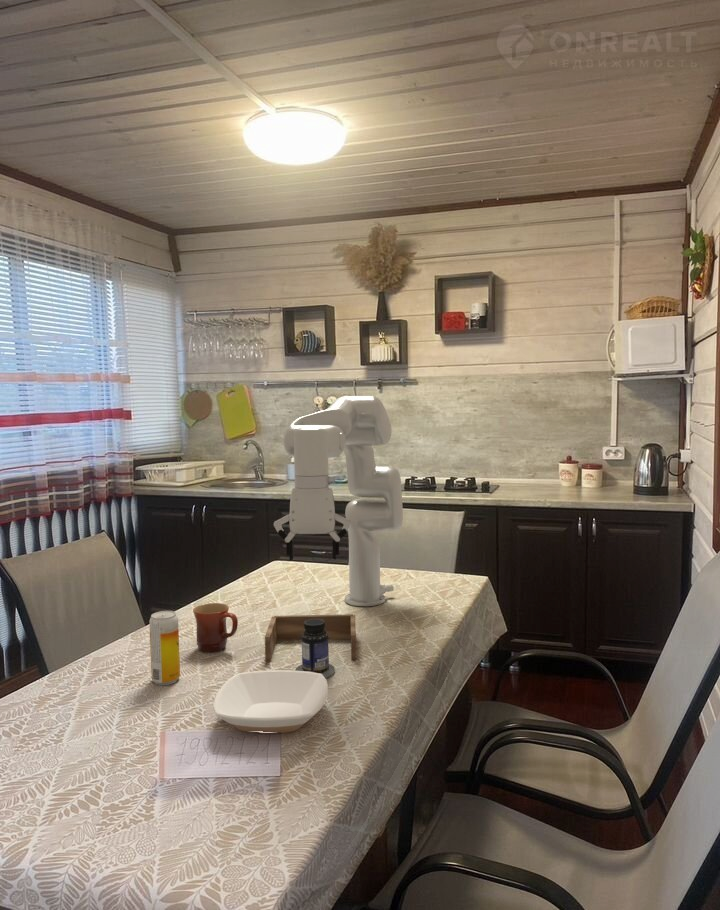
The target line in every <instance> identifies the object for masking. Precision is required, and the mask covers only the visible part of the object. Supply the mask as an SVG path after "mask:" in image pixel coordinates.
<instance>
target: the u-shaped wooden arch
mask: <svg viewBox="0 0 720 910" xmlns="http://www.w3.org/2000/svg"><path fill="white" fill-rule="evenodd" d="M309 619H322V620H324V621H325V628H324V630H325V631H326V632H327V633H328V640H334V639H335V640H338V639H339V640H340V639H341V640H343V639H344V640H345V639H350V660H351V661H356V660H357V630H356V629H357V627H356V626H357V624H356V615H355V614H352V613H351V614H348V613H347V614H306V615H305V614H304V615H302V614H301V615H300V614H299V615H273V616H271V617H270V621H269V624H268V626H267V630H266V633H265V635H264V650H265V651H264V653H265V655H264V658H265V659H264V660H265V663H266V662H271V661H272V658H273V653H274V651H275V647H276V643H277V641H284V640H285V641H288V640H291V641H294V640H302V639H301V636H302V633H303V632H304V631H305V628H304V622H305V621H306V620H309Z"/></svg>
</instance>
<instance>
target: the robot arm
mask: <svg viewBox="0 0 720 910" xmlns="http://www.w3.org/2000/svg"><path fill="white" fill-rule="evenodd" d="M389 418H390V417H389V415H388V413H387V410H386V407H385V405H384V404H383V401H382V400H381V399H380V398H378V396H373V395H350V396H349V395H347V396H346V395H345V396H340V397H338V398H336V399H334V401H333V402H331V404H330V405H329V406H328V407H327V408H326V409H323V410H320V411H316V412H314V413H310V414H307V415H304V416H300V417H299V418H296V419H295V420H294V421H292V422H291V424H290V425H289V426H288V427H287V429H286V430H285V432H284V436H283V447H284V450H285V452H286V453H287V454H288V455H289V456H290V457H293V459H294V464H293V465H294V488H292V489H291V491H290V492H291V493H290V498H289V500H290V502H289V514H286V515H285V516H282V517H281V518H279V519H277V520H274V522H273V527H274V528H275V530H276V532H277V535H278V536H279V537H280V538H282V539H283V540H284V542H285V544H286V545H285V547H286V548H285V549H286V556H287V557H289V561H293V560H294V555H295V553H294V550H295V549H294V548H295V547H294V543H295V542H294V540H293V539H294V537H295V535H321V534H322V535H323V534H329V536H330V537H331V538H332V539H333V540H332V559H333V560H337V556H339V555H340V541H341V540H342V538H344V536H345V535H346V534H347V535H348V536H347V537H348V564H349V565H348V569H349V571H348V574H349V579H348V580H349V585H348V586H349V593H347V594H346V595H345V596H344V602H345V603H346V604H348V605H351V606H354V607H355V606H356V607H374V606H378V605H381V604H384V603H385V602H386V595H384V594H386V593H387V592H388V593H389V592H394V589H395V587H394V585H393V584H389V585H386V584H381V552H380V551H381V546H380V542H379V539H378V538H377V536H376V535H375V534H374V532H375V531H376V532H377V531H379V532H395V531H399V530H400V529H401V527H402V525H403V523H404V522H403V519H404V512H403V511H404V510H403V509H404V508H403V491H402V480H401V479H402V478H401V473H400V472H399V470H398V468H396V467H395V466H391V465H376V463H375V451H374V448H373V446H375V447H377V446H379V447H381V446H386V445H387V444H388V443H389V442H390V440H391V438H392V424H391V421H390V419H389ZM343 452H344V456H345V465H346V466H345V467H346V477H347V478H346V479H347V485H348V486H347V488H348V491H349V493H350V494H351V495H352V496H354V497H356V499H353V500H351V501H349V502H348V503H347V504H346V506H345V510H344V511H345V513H344V514H345V517H344V516H342V515H340V514H338V513H336V511H335V509H336V508H335V497H334V492H333V488H332V487H329V486H331V485H332V484H336V477H332V476H330V474H329V459H330V458H331V459H332V458H336V457H339V456H340V455H341V454H342V453H343ZM357 497H358V499H357ZM377 498H378V499H377ZM382 498H383V499H382ZM288 522H289V532H286V531H285V530H284V529H283V527H282V525H284V524H286V523H288ZM336 522H338V523H341V524H342V525H343V526H342V527H341V529H340V530H339V531H338V532H337V530H336V529H335V528H336Z"/></svg>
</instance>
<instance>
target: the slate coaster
mask: <svg viewBox="0 0 720 910" xmlns="http://www.w3.org/2000/svg"><path fill="white" fill-rule="evenodd" d="M294 671H304V670H303V669H302V664H300V665H298V666H296V668H294ZM335 671H336V668H335V666H334V665H333V664H330V663H329V668H328V670H327V671H325V672H322V673H320V674H322V675H323V676H324V677H325V679H326V680H327V679H329V678H331V677H332V676H335V675H334V674H335V673H336V672H335Z"/></svg>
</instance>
